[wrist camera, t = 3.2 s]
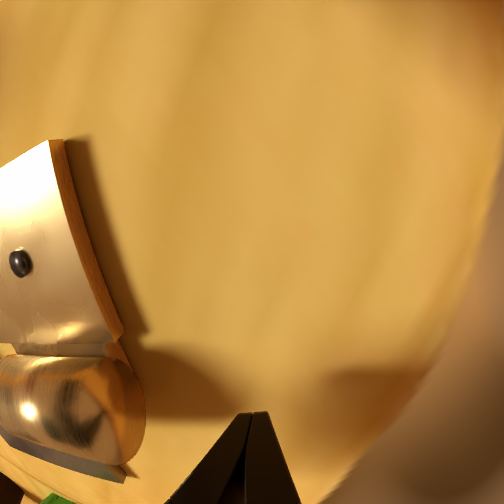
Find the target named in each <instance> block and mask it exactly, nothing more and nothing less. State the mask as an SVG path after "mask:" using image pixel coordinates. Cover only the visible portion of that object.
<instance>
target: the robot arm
mask: <svg viewBox="0 0 504 504" xmlns="http://www.w3.org/2000/svg"><path fill="white" fill-rule="evenodd" d="M164 504H301V501H300V498H299V496H298V493H297V490H296V488H295V485H294V483H293V480H292V477H291V474H290V472H289V469H288V466H287V464H286V461H285V458H284V456H283V453H282V450H281V447H280V444H279V442H278V439H277V436H276V433H275V430H274V428H273V425H272V422H271V419H270V416H269V413H268V412H267V411H262V412H254V413H251V412H248V413H239V414H238V415H237V416H236V417H235V418H234V420H233V421H232V422H231V424H230V425H229V426H228V428H227V429H226V430H225V431H224V433H223V434H222V435H221V437H220V438H219V439H218V440H217V442H216V443H215V444H214V445H213V447H212V448H211V449H210V450H209V452H208V453H207V454H206V455H205V457H204V458H203V459H202V460H201V462H200V463H199V464H198V465H197V466H196V468H195V469H194V470H193V471H192V472H191V474H190V475H189V476H188V477H187V478H186V480H185V481H184V482H183V483H182V484H181V485H180V487H179V488H178V489H177V490H176V491H175V492H174V493H173V495H172V496H171V497H170V499H168V500H167V501H166V502H165V503H164Z"/></svg>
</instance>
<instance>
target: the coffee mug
mask: <svg viewBox="0 0 504 504" xmlns="http://www.w3.org/2000/svg"><path fill="white" fill-rule="evenodd" d="M23 495H24V492H23V490H22V489H21V488H19V487H18V486H17V485H16V484H15V483H14V482H13V481H11V480H10V479H9V478H8V477H6V476H5V475H4V474H3V473H1V472H0V504H20V503H21V500H22V498H23Z"/></svg>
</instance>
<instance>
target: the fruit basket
mask: <svg viewBox="0 0 504 504" xmlns="http://www.w3.org/2000/svg"><path fill="white" fill-rule="evenodd" d="M40 504H75V503H73V502H71V501H68V500H66V499H64V498H62V497H59V496H57V495H55V494H53V493H51V494H50V495H49V496H48V497H47V498H46V499H44V500H43V501H42V502H41V503H40Z"/></svg>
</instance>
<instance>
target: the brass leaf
mask: <svg viewBox="0 0 504 504" xmlns="http://www.w3.org/2000/svg"><path fill="white" fill-rule="evenodd" d="M123 332H124V328H123V325H122V323H121V321H120V319H119V316H118V314H117V312H116V309H115V307H114V304H113V302H112V300H111V297H110V295H109V292H108V289H107V287H106V284H105V282H104V279H103V276H102V274H101V271H100V268H99V266H98V263H97V260H96V257H95V254H94V251H93V248H92V245H91V242H90V239H89V236H88V233H87V230H86V227H85V224H84V220H83V217H82V214H81V210H80V207H79V203H78V200H77V196H76V192H75V189H74V185H73V181H72V177H71V173H70V169H69V164H68V160H67V155H66V151H65V146H64V141H63V139H57V140H47V141H45V142H44V143H42V144H40V145H38V146H37V147H35V148H33V149H31V150H30V151H28V152H26V153H25V154H23V155H21V156H20V157H18V158H17V159H15V160H13V161H12V162H10V163H9V164H7V165H6V166H4V167H3V168H1V169H0V343H11V344H12V346H13V347H14V349H15V351H16V353H17V354H12V355H8V356H5V357H4V358H2V359H1V360H0V425H1V426H2V427H3V428H4V429H5V430H6V431H8V432H9V433H11V434H13V435H15V436H18V437H20V438H23V439H25V440H28V441H31V442H33V443H36V444H39V445H42V446H45V447H48V448H51V449H54V450H57V451H60V452H64V453H67V454H70V455H74V456H77V457H81V458H85V459H89V460H93V461H97V462H101V463H106V464H111V465H122V464H125V463H127V462H128V461H130V460H131V459H132V458H133V457H134V456H135V455H136V453H137V452H138V450H139V448H140V446H141V443H142V441H143V437H144V433H145V426H146V408H145V401H144V396H143V392H142V389H141V386H140V383H139V381H138V379H137V377H136V375H135V373H134V371H133V369H132V367H131V365H130V364H129V362H128V360H127V358H126V356H125V354H124V352H123V350H122V347H121V345H120V343H119V341H118V338H119V337H120V336H121V334H122V333H123Z"/></svg>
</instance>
